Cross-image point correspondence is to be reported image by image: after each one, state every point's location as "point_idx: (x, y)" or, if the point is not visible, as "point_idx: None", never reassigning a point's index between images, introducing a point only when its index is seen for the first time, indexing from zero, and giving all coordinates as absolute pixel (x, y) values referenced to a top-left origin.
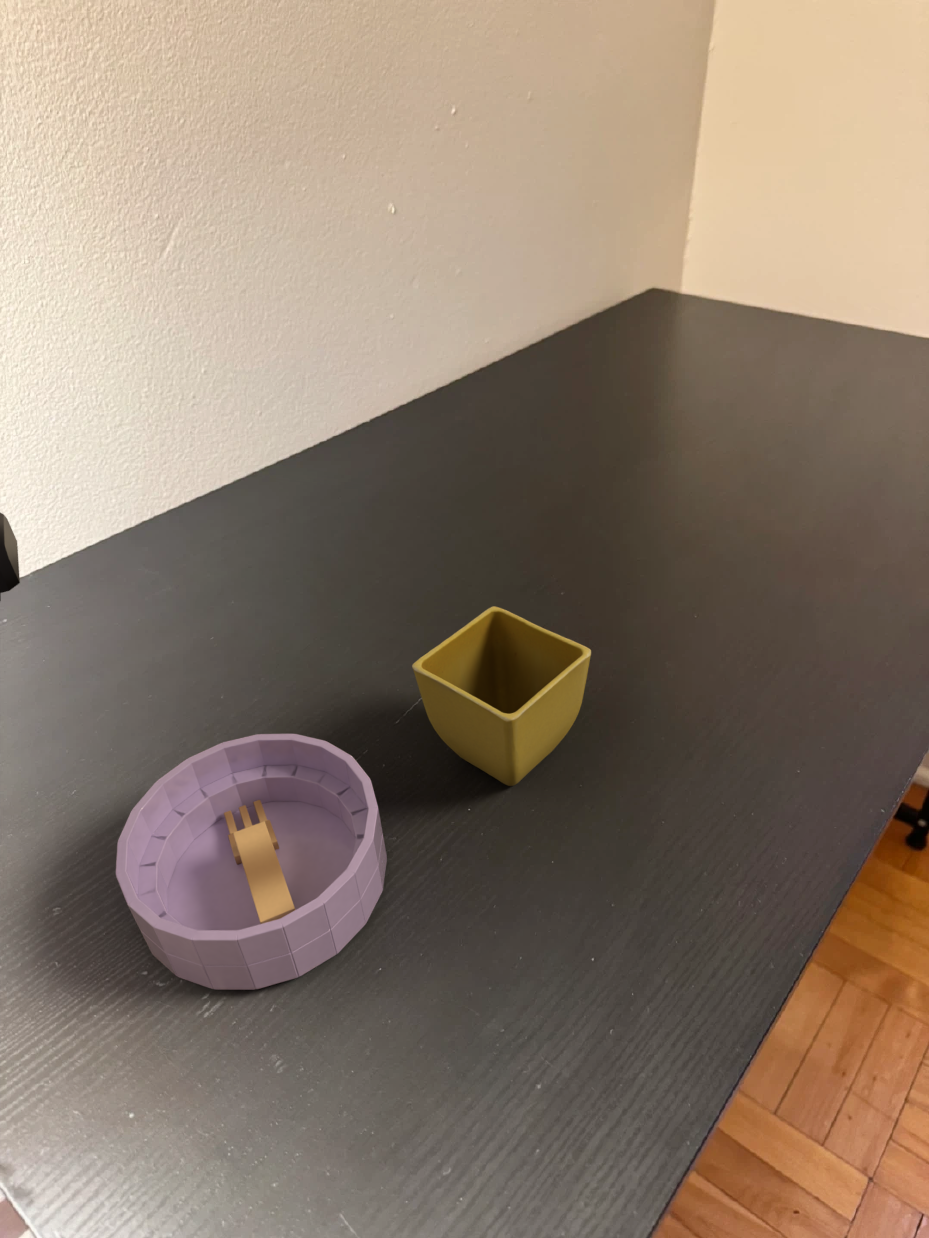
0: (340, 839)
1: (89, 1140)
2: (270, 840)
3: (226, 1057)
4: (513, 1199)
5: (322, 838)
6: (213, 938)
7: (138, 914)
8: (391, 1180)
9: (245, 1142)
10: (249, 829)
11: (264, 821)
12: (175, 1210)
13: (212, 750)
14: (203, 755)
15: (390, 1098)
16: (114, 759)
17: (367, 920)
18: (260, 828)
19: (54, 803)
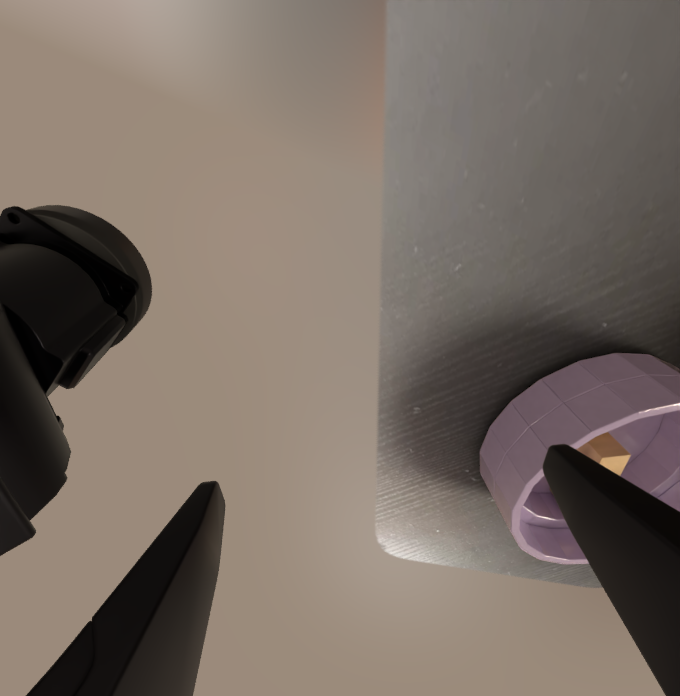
0: (648, 429)
1: (415, 535)
2: (621, 472)
3: (492, 520)
4: (569, 578)
5: (638, 423)
6: (551, 561)
7: (514, 538)
8: (533, 567)
9: (484, 548)
10: (615, 458)
11: (630, 454)
12: (446, 561)
13: (668, 410)
14: (655, 413)
15: None
16: (518, 225)
17: None
18: (623, 460)
19: (432, 277)
